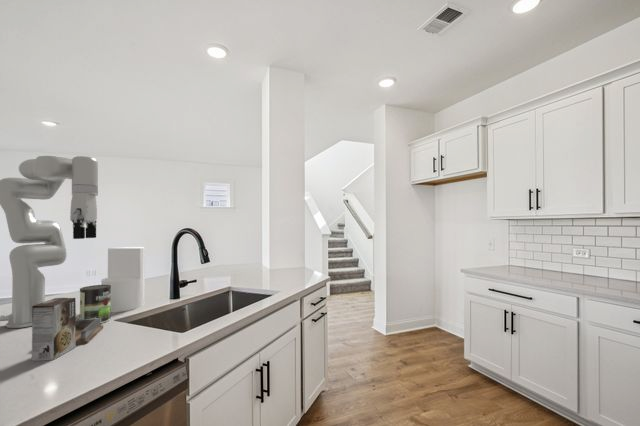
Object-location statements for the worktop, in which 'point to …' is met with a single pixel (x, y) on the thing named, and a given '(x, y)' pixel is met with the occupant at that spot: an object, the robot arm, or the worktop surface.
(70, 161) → the robot arm
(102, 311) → the coffee can
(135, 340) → the worktop surface
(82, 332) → the dock
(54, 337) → the coffee box
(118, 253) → the tall white block
